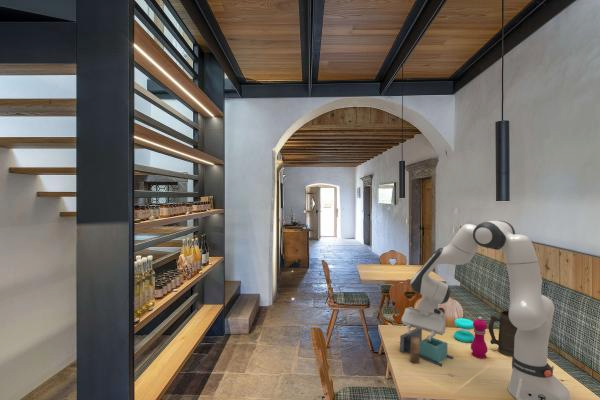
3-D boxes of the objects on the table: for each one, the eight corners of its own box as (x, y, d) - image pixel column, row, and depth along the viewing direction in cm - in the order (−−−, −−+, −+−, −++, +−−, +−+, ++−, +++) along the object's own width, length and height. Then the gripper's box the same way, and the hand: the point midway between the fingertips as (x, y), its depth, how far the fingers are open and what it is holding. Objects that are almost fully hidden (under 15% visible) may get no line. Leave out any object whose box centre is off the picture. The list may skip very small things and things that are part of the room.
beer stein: (517, 348, 181) (516, 309, 180) (529, 358, 170) (527, 317, 169) (486, 348, 182) (484, 310, 182) (495, 358, 172) (494, 317, 171)
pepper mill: (489, 361, 166) (490, 320, 165) (472, 360, 168) (474, 318, 167) (484, 354, 173) (485, 314, 172) (468, 353, 175) (470, 313, 174)
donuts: (451, 317, 196) (469, 317, 195) (451, 334, 196) (469, 335, 196) (459, 324, 186) (478, 324, 185) (458, 342, 186) (477, 343, 186)
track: (455, 359, 168) (456, 340, 168) (438, 370, 158) (439, 350, 157) (417, 344, 183) (418, 327, 183) (399, 353, 173) (400, 335, 173)
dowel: (421, 364, 163) (421, 338, 163) (416, 366, 161) (416, 341, 160) (413, 360, 166) (414, 335, 166) (408, 363, 164) (409, 338, 163)
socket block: (446, 357, 168) (447, 343, 167) (437, 363, 162) (437, 348, 162) (429, 350, 174) (429, 336, 174) (419, 356, 169) (419, 341, 168)
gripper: (404, 303, 178) (395, 327, 171) (446, 313, 165) (438, 340, 158) (408, 309, 182) (399, 334, 175) (449, 319, 168) (441, 346, 161)
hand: (418, 337), depth 166 cm, fingers open, 8 cm apart
